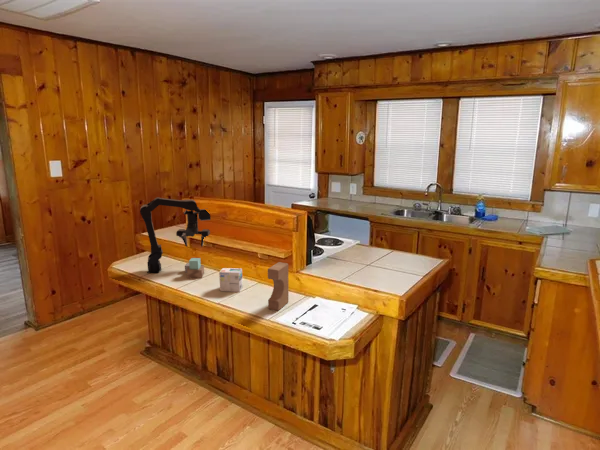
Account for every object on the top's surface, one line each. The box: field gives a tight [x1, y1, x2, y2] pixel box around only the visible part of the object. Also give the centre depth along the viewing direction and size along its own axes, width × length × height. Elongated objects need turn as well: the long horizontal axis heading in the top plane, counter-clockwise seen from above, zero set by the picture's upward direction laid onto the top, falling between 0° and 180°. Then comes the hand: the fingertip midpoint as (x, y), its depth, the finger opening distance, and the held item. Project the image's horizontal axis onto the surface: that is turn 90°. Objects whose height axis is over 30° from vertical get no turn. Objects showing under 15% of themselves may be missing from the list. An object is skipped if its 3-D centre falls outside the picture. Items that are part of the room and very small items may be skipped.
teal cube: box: [188, 257, 202, 269], centre depth 227 cm, size 5×5×5 cm
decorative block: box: [267, 261, 289, 312], centre depth 189 cm, size 11×6×20 cm, turn 154°
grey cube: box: [184, 262, 189, 274], centre depth 235 cm, size 4×4×4 cm
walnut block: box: [186, 264, 205, 279], centre depth 229 cm, size 8×8×5 cm
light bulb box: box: [218, 267, 244, 293], centre depth 209 cm, size 11×7×11 cm, turn 84°
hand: (194, 246), depth 240 cm, fingers open, 9 cm apart
